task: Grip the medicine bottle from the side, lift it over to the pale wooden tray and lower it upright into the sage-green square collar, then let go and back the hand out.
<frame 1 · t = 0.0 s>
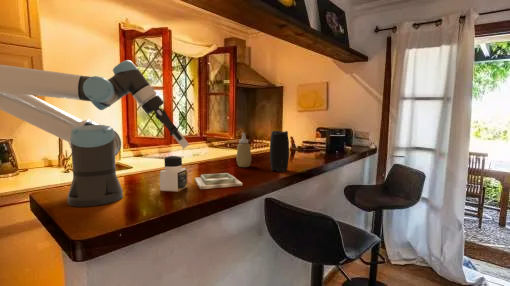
hand: (184, 145, 108), 15 cm above the table, tool tilted 35°, fingers open, 13 cm apart
collar tray: (217, 182, 111), on the table
medicine bottle: (173, 189, 101), on the table
squeeze bottle: (243, 166, 148), on the table
portable speaker: (279, 171, 136), on the table
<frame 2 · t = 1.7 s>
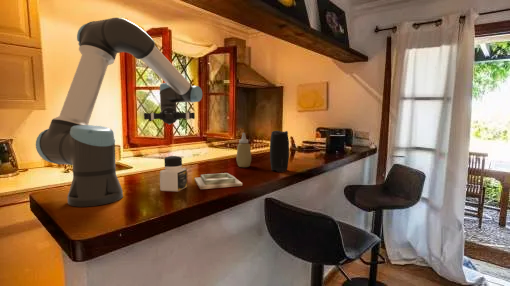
hand: (170, 116, 108), 27 cm above the table, tool horizontal, fingers open, 13 cm apart
nothing on the table moved.
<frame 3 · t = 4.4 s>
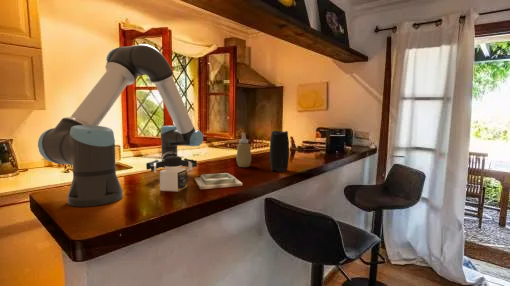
hand: (173, 168, 108), 6 cm above the table, tool horizontal, fingers open, 13 cm apart
nothing on the table moved.
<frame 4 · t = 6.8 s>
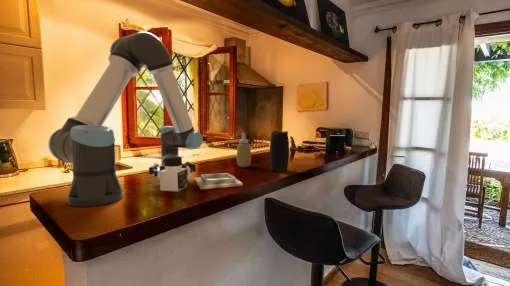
hand: (174, 173, 97), 7 cm above the table, tool horizontal, fingers closed on medicine bottle, 9 cm apart
medicine bottle: (174, 189, 101), on the table, touching gripper
everything else where it was.
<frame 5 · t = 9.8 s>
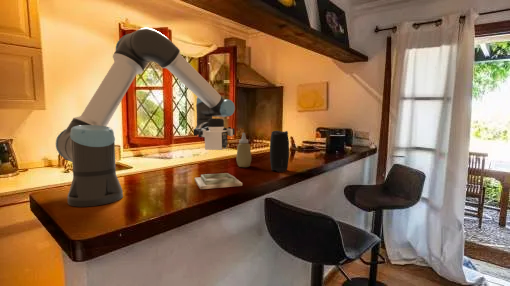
hand: (218, 133, 105), 20 cm above the table, tool horizontal, fingers closed on medicine bottle, 9 cm apart
medicine bottle: (216, 149, 110), point 13 cm above the table, touching gripper
everything else where it was.
when the fingers open (9 cm above the table, at t = 12.8 s): medicine bottle drops 1 cm, resting on collar tray.
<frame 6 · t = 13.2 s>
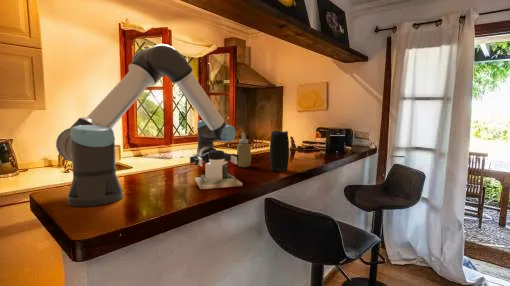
hand: (218, 161, 107), 9 cm above the table, tool horizontal, fingers open, 13 cm apart
medicine bottle: (217, 180, 111), point 1 cm above the table, touching collar tray
everything else where it was.
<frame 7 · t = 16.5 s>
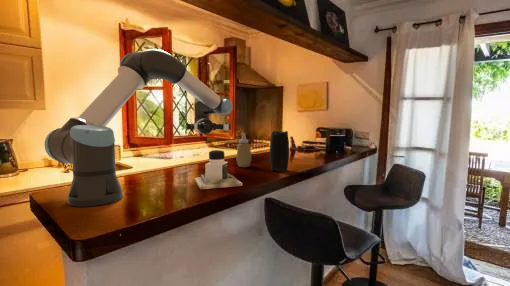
hand: (212, 127, 119), 22 cm above the table, tool horizontal, fingers open, 13 cm apart
nothing on the table moved.
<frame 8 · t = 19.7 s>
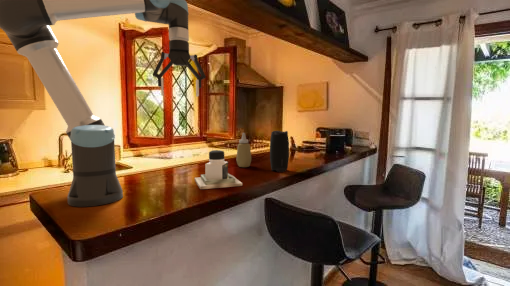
hand: (180, 95, 111), 35 cm above the table, tool pointing down, fingers open, 13 cm apart
nothing on the table moved.
at the end: medicine bottle 0.2 cm off-centre on the collar tray, point 0.8 cm above the collar tray's base; medicine bottle tilted 0°; the gripper is holding nothing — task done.
